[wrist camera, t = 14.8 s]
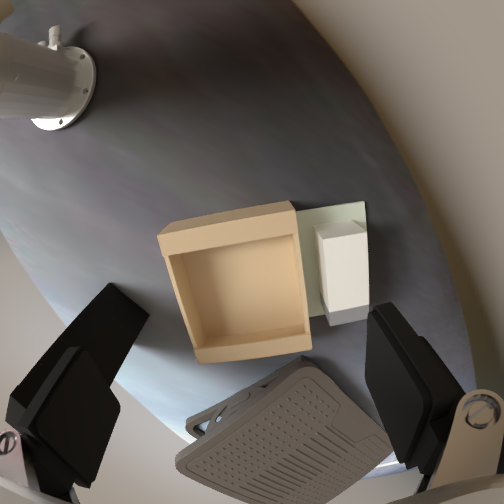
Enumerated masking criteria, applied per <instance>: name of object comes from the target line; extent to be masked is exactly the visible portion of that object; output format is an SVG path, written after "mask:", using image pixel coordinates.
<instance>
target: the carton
mask: <svg viewBox="0 0 504 504" xmlns="http://www.w3.org/2000/svg"><path fill="white" fill-rule="evenodd" d="M157 237H158V241H159V245H160V248H161V252H162V255H163V256H164V258H165V261H166V265H167V268H168V271H169V275H170V278H171V281H172V285H173V288H174V291H175V294H176V297H177V301H178V304H179V307H180V310H181V313H182V316H183V319H184V322H185V325H186V328H187V331H188V333H189V336H190V339H191V342H192V345H193V348H194V349H193V351H194V354H195V356H196V359H197V362H198V364H210V363H220V362H230V361H238V360H247V359H254V358H262V357H269V356H275V355H282V354H288V353H294V352H300V351H306V350H311V349H312V341H311V333H310V325H309V315H308V306H307V298H306V289H305V281H304V273H303V265H302V258H301V250H300V243H299V236H298V226H297V219H296V213H295V209H294V207H293V206H292V204H291V203H290V201H289V200H288V201H282V202H276V203H270V204H264V205H259V206H253V207H247V208H242V209H236V210H231V211H226V212H220V213H215V214H210V215H205V216H200V217H195V218H190V219H185V220H180V221H175V222H171V223H170V224H169V225H168V226H166V227H165V228H164V229H163V230H162V231H161V232H160V233H159V234H158V235H157Z"/></svg>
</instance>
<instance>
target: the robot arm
mask: <svg viewBox="0 0 504 504" xmlns="http://www.w3.org/2000/svg"><path fill="white" fill-rule="evenodd" d="M95 84H96V67H95V63H94V60H93V58H92V57H91V55H90V54H89V53H88V52H86V51H85V50H83V49H81V48H79V47H73V46H71V47H65V48H64V47H63V42H61V26H53V27H52V28H50V29H49V46H48V47H47V42H46V41H41V42H39V43H38V44H37V43H34V42H31V41H28V40H25V39H22V38H19V37H16V36H12V35H9V34H6V33H3V32H0V119H32V121H33V122H34V123H35V124H36V125H37V126H38V127H40V128H41V129H44V130H60V129H63V128H65V127H67V126H69V125H70V124H72V123H73V122H74V121H75V120H76V119H77V118H79V116H80V115H81V114H82V113H83V112H84V110H85V109H86V107H87V105H88V104H89V102H90V99H91V97H92V95H93V92H94V88H95ZM365 381H366V384H367V386H368V389H369V391H370V393H371V396H372V398H373V401H374V403H375V405H376V408H377V410H378V412H379V415H380V417H381V420H382V422H383V425H384V427H385V430H386V432H387V435H388V437H389V440H390V442H391V445H392V447H393V450H394V452H395V455H396V457H397V460H398V462H399V463H400V464H401V463H405V465H406V468H407V470H408V469H411V468H413V467H416V466H418V469H419V471H420V473H421V474H423V475H422V477H421V480H420V482H419V484H418V486H417V489H416V491H415V493H414V495H413V496H409V497H406V498H403V499H400V500H396V501H393V502H390V503H387V504H504V402H503V400H502V399H501V398H500V397H499V395H497V394H495V393H494V392H492V391H488V390H475V391H471V392H469V393H468V394H466V393H465V392H464V390H463V389H462V387H461V386H460V385H459V383H458V382H457V380H456V379H455V378H454V376H453V375H452V373H451V372H450V371H449V369H448V368H447V367H446V365H445V364H444V362H443V361H442V360H441V358H440V357H439V356H438V354H437V353H436V352H435V350H434V349H433V348H432V346H431V345H430V344H429V343H428V341H427V340H426V339H425V338H424V337H422V336H418V335H417V334H416V332H415V331H414V330H413V328H412V327H411V326H410V325H409V323H408V322H407V321H406V319H405V318H404V317H403V316H402V314H401V313H400V312H399V311H398V309H397V308H396V307H395V306H394V304H393V303H392V302H389V303H385V304H381V305H377V306H374V307H373V310H372V312H369V313H368V316H367V345H366V363H365ZM119 413H120V403H119V402H118V400H117V398H116V397H115V395H114V394H113V392H112V391H111V389H110V387H109V386H108V384H107V382H106V381H105V379H104V378H103V376H102V374H101V372H100V371H99V369H98V367H97V366H96V364H95V362H94V360H93V358H92V357H91V355H90V353H89V352H88V351H86V350H85V349H84V348H83V347H70V348H68V349H67V350H66V351H65V353H64V354H63V355H62V357H61V358H60V360H59V361H58V363H57V364H56V365H55V367H54V368H53V370H52V371H51V373H50V374H49V375H48V377H47V378H46V380H45V381H44V383H43V384H42V386H41V387H40V389H39V390H38V392H37V393H36V395H35V397H34V398H33V400H32V401H31V403H30V404H29V406H28V407H27V409H26V411H25V412H24V414H23V416H22V417H21V419H20V420H19V422H18V424H17V426H18V427H19V429H20V430H21V431H22V432H23V434H22V435H20V433H19V432H18V431H17V430H15V429H12V428H10V429H5V430H3V431H2V432H0V504H80V502H79V500H78V498H77V495H76V493H75V490H74V487H73V483H74V482H75V483H76V484H77V485H78V486H81V487H85V488H90V486H91V483H92V482H93V481H94V480H95V478H96V476H97V473H98V470H99V467H100V464H101V461H102V459H103V455H104V453H105V450H106V447H107V445H108V442H109V439H110V437H111V434H112V431H113V429H114V426H115V423H116V420H117V418H118V415H119Z"/></svg>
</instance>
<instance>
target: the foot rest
mask: <svg viewBox="0 0 504 504" xmlns="http://www.w3.org/2000/svg"><path fill="white" fill-rule="evenodd" d="M218 416H220V417H222V419H221V420H220V421H219V422H216V419H217V418H218ZM209 419H211V420H210V422H209V424H208V426H207V428H206V431H205V433H204V432H202V431H200V430H198V429H197V428H196V427H195V425H198V424H200V423H203V422H205V421H207V420H209ZM185 428H186V431H187V432H188V433H189V434H190V435H192V436H193V437H195V438H196V439H198V440H196V441H195V442H193V443H192V444H190V445H189V446H188V447H186V448H185V449H183V450H182V451H180V452H179V453H178V454H177V455H176V457H175V466H176V469H177V470H178V471H179V472H180V473H182V474H183V475H185V476H187V477H189V478H191V479H193V480H195V481H197V482H199V483H201V484H203V485H205V486H208V487H210V488H212V489H214V490H216V491H219V492H221V493H223V494H226V495H228V496H231V497H233V498H236V499H238V500H241V501H243V502H246V503H249V504H325V503H327V502H328V501H330V500H331V499H333V498H334V497H336V496H337V495H339V494H340V493H342V492H343V491H344V490H346V489H347V488H349V487H350V486H351V485H353V484H354V483H355V482H357V481H358V480H360V479H361V478H362V477H363V476H365V475H366V474H367V473H369V472H370V471H371V470H372V469H373V468H375V467H376V466H377V465H378V464H380V463H381V462H382V461H383V460H384V459H385V458H387V457H388V456H389V455H390V454H391V453H392V452H393V451H394V450H393V447H392V445H391V442H390V440H389V437H388V435H387V432H386V431H385V430H384V429H382V428H381V427H380V426H379V425H378V424H377V423H376V422H375V421H374V420H373V419H372V418H371V417H370V416H369V415H367V414H366V413H365V412H364V411H363V410H362V409H361V408H360V407H359V406H358V405H357V404H356V403H355V402H354V401H353V400H352V399H351V398H349V397H348V396H347V395H346V394H345V393H344V392H343V391H342V390H341V389H340V388H339V387H338V386H337V385H336V383H334V382H333V381H332V380H331V379H330V378H329V377H328V376H327V375H326V374H325V373H324V372H323V371H322V370H321V369H319V368H318V367H317V366H316V365H315V364H314V363H312V362H309V361H308V360H307V359H306V358H305V357H304V356H303V355H301V356H300V357H298V358H297V359H295V360H293V361H292V362H290V363H289V364H287V365H285V366H284V367H282V368H280V369H279V370H277V371H275V372H274V373H272V374H270V375H269V376H267V377H265V378H264V379H262V380H260V381H258V382H257V383H255V384H253V385H251V386H249V387H248V388H246V389H243V390H241V391H239V392H237V393H236V394H234V395H233V396H231V397H229V398H227V399H226V400H224V401H222V402H220V403H218V404H216V405H214V406H212V407H210V408H208V409H206V410H204V411H202V412H200V413H198V414H196V415H194V416H191V417H189V418H188V419H187V420H186V427H185Z"/></svg>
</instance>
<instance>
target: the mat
mask: <svg viewBox="0 0 504 504" xmlns="http://www.w3.org/2000/svg"><path fill="white" fill-rule="evenodd" d="M295 213H296V219H297V226H298V236H299V243H300V250H301V258H302V265H303V273H304V281H305V289H306V298H307V306H308V315H309V317H313V316H319V315H324V314H325V312H324V310H323V307H322V304H321V300H320V288H319V278H318V268H317V259H316V250H315V241H314V233H313V225H318V224H324V223H330V222H337V221H343V220H349V219H351V220H352V221H353V222H355V223H356V224H357V225H359V226H360V227H361V228H362V229H364V230H365V231H366V232H367V227H366V214H365V203H364V201H360V202H353V203H346V204H339V205H333V206H326V207H320V208H314V209H307V210H301V211H295ZM368 267H369V265H368Z"/></svg>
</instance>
